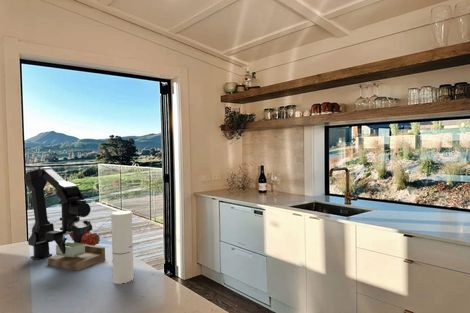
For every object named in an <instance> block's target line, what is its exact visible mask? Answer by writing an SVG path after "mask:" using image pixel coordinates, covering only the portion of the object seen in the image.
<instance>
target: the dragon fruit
mask: <svg viewBox="0 0 470 313" xmlns="http://www.w3.org/2000/svg"><path fill="white" fill-rule="evenodd" d="M100 239H101V238H100V235H99V234H97V232H91V231H90V233H89V234H85V235H84V236H83V237H82V239H81V242H80V243H82V244H86V245H93V246H97V245H98V244H99V243H100Z"/></svg>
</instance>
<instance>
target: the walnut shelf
mask: <svg viewBox="0 0 470 313" xmlns="http://www.w3.org/2000/svg"><path fill="white" fill-rule="evenodd" d="M105 260H106V248H105V246H98V245H95V246H93V245H86V244H85V253H84V254H82V255H79V256H76V257H73V258H72V257H66V256H61V255H56V254H55V255H51V256H48V257H47V266H51V267H56V268H62V269H65V270H70V271H76V272H79V271H81V270H83V269H86V268H88V267H90V266H91V267H92V266H94V265H96V264H98V263H100V262H103V261H105Z"/></svg>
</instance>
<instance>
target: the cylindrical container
mask: <svg viewBox="0 0 470 313" xmlns="http://www.w3.org/2000/svg"><path fill="white" fill-rule="evenodd" d="M110 214H111V215H110V218H111V231H112V234H111V249H112V250H111V252H112V253H111V254H112V256H111V257H112V259H113V263H112V282H113V283H114V284H115V285H123V284H122V283H125V284H128V283H127V282H129V281H131V280H132V281H134V279H133V278H134V246H133V245H134V244H133V242H134V241H133V238H134V237H133V211H132V210H118V211H114V212H111V213H110ZM112 259H111V260H112ZM132 281H131V282H132ZM129 283H130V282H129Z"/></svg>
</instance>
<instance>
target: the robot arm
mask: <svg viewBox="0 0 470 313" xmlns="http://www.w3.org/2000/svg"><path fill="white" fill-rule="evenodd" d="M23 179H24V182H25V184H26V187H27V188H28V189H29V190H30V192H31V200H32V208H33V215H34V224H33V225H32V228H31V235H30V236H29V238H28V240H27V243H28V244H27V245H28V246H32V249H33V250H32V251H33V255H30V259H34V260H43V259H45V258H49V257H52V256H53V253H50V243H52V242H55V244H56V245H58V246H59V248H60V250H61V252H62V253H63V254H65V242H67V239H68V237H65V236H66V235H69V234H70V233H73V238H74V241H73V242H76V243H80V242H81V239H82V237H83V236H84V235H85V234H86V233H87V232H86V231H90V232H91V231H93V225H92V223H91V221H90V220H89V219H85V220H81V218H86V217H87V216H89V215H90V214H91V208H92V207H91V206H90V204H89V203H87V200H86V199H85V198H84V195H83V194H82V192H81V191H80V188H79V186H78V185H77V184H75V183H74V182H69V181H66V180H65V179H64V178H63V177H62V176H61V175H59V173H57V172H56V171H55V170H54V168H53V167H50V166H45V167H44V166H43V167H39V168H37V169H34V170H31V171H30V170H29V171H27V172H26V173H25V174H24V176H23ZM47 183H48V184H49V185H51V186H52V187H53V188H54V190H56V191H55V194H56V196H57V197H58V198H59V199H60V201H59V202H58V204H59V205H61V207H60V208H61V217H60V218H59V221H61V226H60V227H59V230H55V228H54V226H55V225H54V224H53V223H52V222H50V221H49V219H48V211H47V205H46V197H45V187H46V185H47ZM80 217H81V218H80ZM81 221H82V222H81ZM90 223H91V224H90Z"/></svg>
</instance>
